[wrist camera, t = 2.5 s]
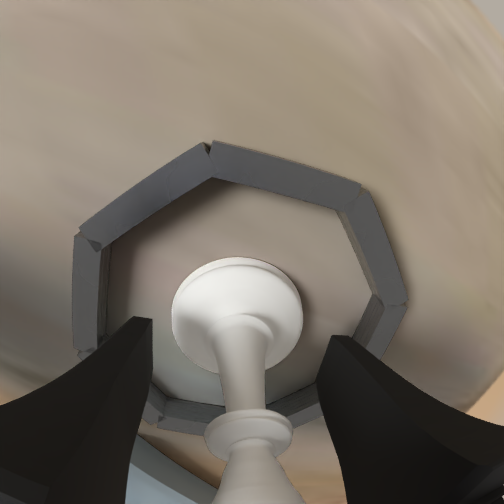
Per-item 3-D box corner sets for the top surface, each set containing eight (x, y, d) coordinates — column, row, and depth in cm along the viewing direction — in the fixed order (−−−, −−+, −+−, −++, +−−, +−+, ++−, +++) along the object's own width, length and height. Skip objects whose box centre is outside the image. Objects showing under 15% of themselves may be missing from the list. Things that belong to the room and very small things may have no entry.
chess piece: (321, 276, 12) (471, 536, 2) (275, 375, 13) (326, 601, 4) (188, 240, 11) (117, 584, 1) (161, 351, 12) (123, 600, 3)
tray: (34, 456, 15) (27, 476, 13) (134, 431, 14) (127, 461, 12) (135, 519, 19) (133, 537, 17) (241, 502, 18) (243, 524, 16)
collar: (31, 267, 10) (16, 280, 9) (304, 87, 9) (314, 82, 8) (199, 444, 15) (199, 461, 14) (412, 343, 13) (424, 358, 12)
